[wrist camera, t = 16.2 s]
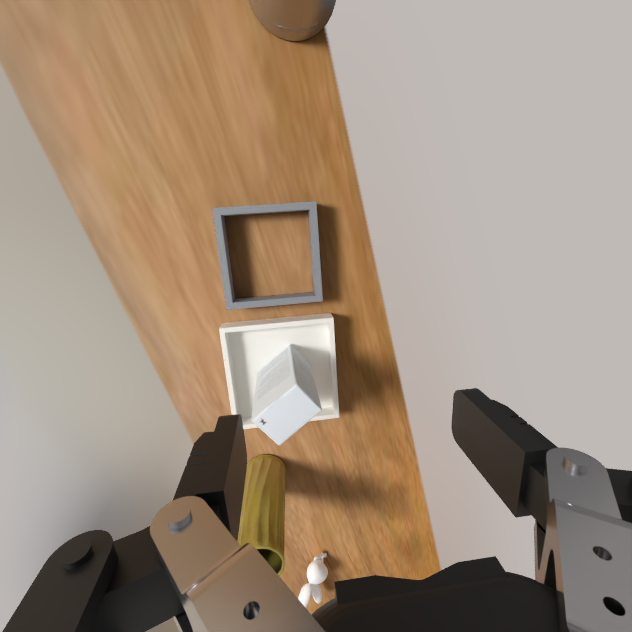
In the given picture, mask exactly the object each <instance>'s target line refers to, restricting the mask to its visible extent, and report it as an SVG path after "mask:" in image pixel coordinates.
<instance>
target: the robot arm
mask: <svg viewBox="0 0 632 632" xmlns="http://www.w3.org/2000/svg"><path fill="white" fill-rule="evenodd" d="M335 2H336V0H250V3H251V6H252V8H253V10H254V13H255V15H256V16H257V18H258V19H259V21H260V22H261V24H262V25H263V26H264V27H265V28H266V29H267V30H268V31H269V32H271V33H272V34H274V35H276V36H277V37H279V38H282V39H285V40H290V41H301V40H306V39H308V38H311V37H313V36H314V35H316V34H317V33H318V32H320V31H321V30H322V29H323V27H324V26H325V25H326V24H327V22H328V20H329V18H330V17H331V15H332V12H333V9H334V5H335ZM452 433H453V436H454V439H455V441H456V443H457V444H458V445H459V447H460V448H461V449H462V450H463V452H464V453H465V454H466V455H467V457H468V458H469V459H470V460H471V462H472V463H473V464H474V465H475V467H476V468H477V469H478V471H479V472H480V473H481V474H482V476H483V477H484V478H485V479H486V481H487V482H488V483H489V484H490V486H491V487H492V488H493V489H494V491H495V492H496V493H497V494H498V495H499V497H500V498H501V499H502V501H503V502H504V503H505V504H506V506H507V507H508V508H509V509H510V511H511V512H512V513H513V514H514V516H515V517H522V516H529V515H532V516H533V517H534V518H535V519H536V520H535V526H534V539H535V540H534V543H535V544H534V545H535V580H533V579H531V578H528V577H525V576H522V575H518V574H514V573H510V572H505V570H504V569H503V567H502V566H501V564H500V563H499V561H498V559H497V558H496V557H489V558H482V559H476V560H470V561H463V562H458V563H456V564H453V565H451V566H449V567H448V568H445V569H444V570H441V571H439V572H438V573H436V574H434V575H432V576H430V577H428V578H426V579H423V580H411V579H402V578H393V577H385V576H376V575H375V576H369V577H362V578H356V579H350V580H344V581H337V582H335V599H333V600H331V601H329V602H327V603H326V604H324V605H323V606H321V607H320V608H318V609H317V610H316V611H315V612H314V613H313V614H312V615H311V614H310V613H309V611H308V610H307V609H306V608H305V607H304V605H303V604H302V603H301V602H300V601H299V599H298V598H297V597H296V596H295V595H294V593H293V592H292V591H291V590H290V589H289V588H288V586H287V585H286V584H285V583H284V582H283V580H282V579H281V578H280V577H279V576H278V574H277V573H276V572H275V571H274V570H273V568H272V567H271V566H270V565H269V564H268V562H267V561H266V560H265V559H264V558H263V557H262V555H261V554H260V553H259V552H258V551H257V549H256V548H255V547H254V546H253V545H252V544H250V543H246V544H245V545H243V546H240V545H239V543H238V542H237V541H238V533H239V525H240V517H241V510H242V502H243V494H244V486H245V478H246V471H247V452H246V444H245V437H244V430H243V423H242V417H241V415H240V414H236V415H227V416H220V417H219V418H218V421H217V425H216V428H215V431H214V432H205V433H203V434H202V436H201V437H200V438H199V439H198V440H197V441H196V442H195V443H194V446H193V448H192V451H191V454H190V457H189V459H188V461H187V466H186V467H185V469H184V472H183V475H182V477H181V480H180V483H179V485H178V488H177V491H176V494H175V496H174V499H173V501H172V502H170V503H168V504H167V505H165V506H164V507H163V508H161V509H160V510H159V512H158V513H157V514H156V515H155V517H154V518H153V520H152V522H151V525H150V526H149V527H147V528H145V529H144V530H141V531H139V532H136V533H134V534H132V535H129V536H126V537H124V538H121V539H119V540H116V541H114V542H113V539H112V537H111V535H110V534H109V533H108V532H106V531H103V530H94V531H88V532H85V533H82V534H80V535H78V536H76V537H74V538H72V539H70V540H69V541H67V542H66V543H64V544H63V545H62V546H60V547H59V548H58V549H57V550H56V551H55V552H54V553H53V554H52V555H51V556H50V557H49V558H48V560H47V561H46V563H45V564H44V566H43V567H42V569H41V570H40V572H39V574H38V575H37V577H36V579H35V580H34V582H33V583H32V585H31V586H30V588H29V590H28V591H27V593H26V595H25V596H24V598H23V599H22V601H21V603H20V605H19V606H18V607H17V609H16V611H15V612H14V614H13V615H12V617H11V619H10V620H9V622H8V624H7V625H6V627H5V628H4V630H3V632H145V631H147V630H149V629H151V628H153V627H155V626H157V625H159V624H161V623H163V622H164V621H167V620H168V619H170V618H172V617H173V619H174V621H175V623H176V625H177V627H178V630H179V632H632V471H626V470H617V469H607V468H605V467H604V466H603V465H602V464H601V463H600V462H599V461H598V460H596V459H595V458H593V457H591V456H589V455H587V454H585V453H583V452H580V451H577V450H574V449H569V448H558V447H556V446H555V445H554V444H553V443H552V442H550V441H549V440H548V439H547V438H545V437H544V436H543V435H542V434H541V433H539V432H538V431H537V430H536V429H534V428H533V427H532V426H531V425H528V424H527V422H526V421H524V420H523V419H522V418H521V417H519V416H518V415H517V414H516V413H515V412H514V411H512V410H511V409H510V408H509V407H507V406H505V405H503V404H501V403H499V402H497V401H495V400H491V399H489V398H488V397H487V396H486V395H485V394H484V393H482V392H481V391H480V390H479V389H477V388H474V389H465V390H457V391H456V392H455V393H454V400H453V414H452Z"/></svg>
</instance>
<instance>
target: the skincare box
mask: <svg viewBox="0 0 632 632" xmlns="http://www.w3.org/2000/svg"><path fill="white" fill-rule="evenodd" d="M320 411H322V407H321V403H320V400H319V396H318V392H317V389H316V385H315V381H314V378H313V374H312V370H311V366H310V364H309V363H308V362H307V361H306V360H305V359H304V358H303V357H302V356H301V354H300V353H299V352H298V351H297V350H296V349H295V348H294V347H293V346H292V345H291V344H290V345H289V346H287V347H286V348H285V349H284V350H283V351H282V352H280V353H279V354H278V355H277V356H276V357H274V358H273V359H272V360H271V361H270V362H269V363H267V364H266V365H265V366H264V367H263V368H262V369H260V370H259V371H258V372H257V379H256V388H255V396H254V404H253V411H252V419H251V421H252V422H253V423H254V424H255V425H256V426H257V427H259V428H260V429H261V430H262V431H263V432H264V433H265V434H267V435H268V436H269V437H270V438H271V439H272V440H273V441H274V442H275V443H277V444H278V445H279V446H280V445H281V444H282V443H284V442H285V441H286V440H287V439H288V438H290V437H291V436H292V435H293V434H294V433H295V432H297V431H298V430H299V429H300V428H301V427H302V426H304V425H305V424H306V423H307V422H308V421H310V420H311V419H312V418H313V417H314V416H315V415H317V414H318V413H319V412H320Z"/></svg>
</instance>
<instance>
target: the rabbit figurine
mask: <svg viewBox="0 0 632 632" xmlns="http://www.w3.org/2000/svg"><path fill="white" fill-rule="evenodd" d="M326 556H327V553H323V552H322V553H321V554H320V555H317V556H315V557H314V561H312V562H311V563H310V564H309V566H308V569H307V578H308V581H309V583H307V584H305V585H304V586H303V587H302V589H301V592H300V594H299V597H298V599H299V601H300V602H301V603H302V604H303V605H304V607H305V608H306V607H307V605H308V603H309V600H310V597H311V593H312V594H313V598H314V600H315V602H316V603H320V602H321V599H322V593H321V589H320V586H319V584H320V583H322V582H323V581H324V580H325V579H326V577H327V575H328V570H327V567H326V565H325V564H324V563H323V562H324V560H323V558H324V557H325V558H326ZM320 558H321V559H320ZM317 559H318V560H317ZM310 584H311V585H310Z"/></svg>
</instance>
